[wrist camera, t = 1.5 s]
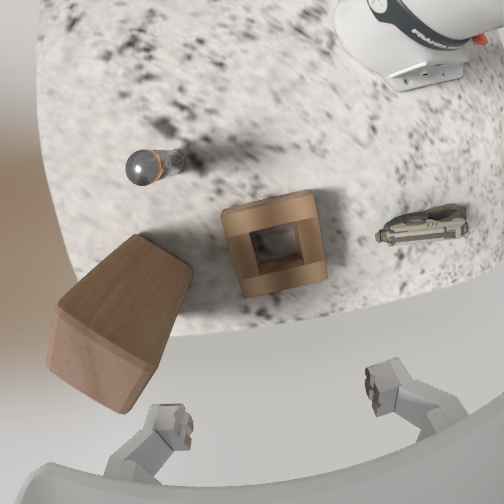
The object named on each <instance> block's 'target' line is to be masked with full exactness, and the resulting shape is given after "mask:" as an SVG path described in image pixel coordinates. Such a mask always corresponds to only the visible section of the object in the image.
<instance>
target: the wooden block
mask: <svg viewBox="0 0 504 504" xmlns="http://www.w3.org/2000/svg"><path fill="white" fill-rule="evenodd" d="M192 277H193V269H192V268H191V266H189V265H188V264H186V263H184V262H183V261H181V260H179V259H178V258H176V257H174V256H173V255H171V254H170V253H168V252H166V251H165V250H163V249H161V248H160V247H158V246H156V245H155V244H153V243H152V242H150V241H148V240H147V239H145V238H144V237H142V236H140V235H137V234H134V235H133V236H131V237H130V238H129V239H128V240H126V241H125V242H124V243H123V244H122V245H120V246H119V247H118V248H117V249H116V250H114V251H113V252H112V253H111V254H110V255H109V256H107V257H106V258H105V259H104V260H103V261H102V262H100V263H99V264H98V265H97V266H96V267H95V268H94V269H93V270H91V271H90V272H89V273H88V274H87V275H86V276H85V277H84V278H82V279H81V280H80V281H79V282H78V283H77V284H76V285H75V286H74V287H73V288H72V289H71V290H70V291H68V292H67V294H65V295H64V296H63V297H62V298H61V299H60V300H59V301H58V302H57V303H56V305H55V308H54V313H53V318H52V324H51V329H50V336H49V342H48V350H47V357H46V366H47V368H48V369H49V370H50V371H51V372H52V373H53V374H55V375H56V376H57V377H59V378H60V379H62V380H63V381H65V382H66V383H68V384H69V385H71V386H72V387H74V388H75V389H77V390H79V391H80V392H82V393H83V394H85V395H87V396H88V397H90V398H92V399H94V400H95V401H97V402H98V403H100V404H102V405H104V406H106V407H107V408H109V409H111V410H113V411H115V412H117V413H119V414H126V413H128V412H129V411H130V410H131V409H132V407H133V405H134V404H135V402H136V401H137V399H138V398H139V396H140V395H141V393H142V391H143V390H144V388H145V387H146V385H147V384H148V382H149V381H150V379H151V377H152V376H153V374H154V373H155V371H156V370H157V368H158V366H159V363H160V360H161V357H162V354H163V352H164V349H165V346H166V344H167V341H168V338H169V335H170V333H171V330H172V327H173V325H174V322H175V320H176V317H177V314H178V312H179V309H180V307H181V304H182V302H183V299H184V297H185V294H186V291H187V289H188V286H189V284H190V281H191V279H192Z"/></svg>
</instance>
